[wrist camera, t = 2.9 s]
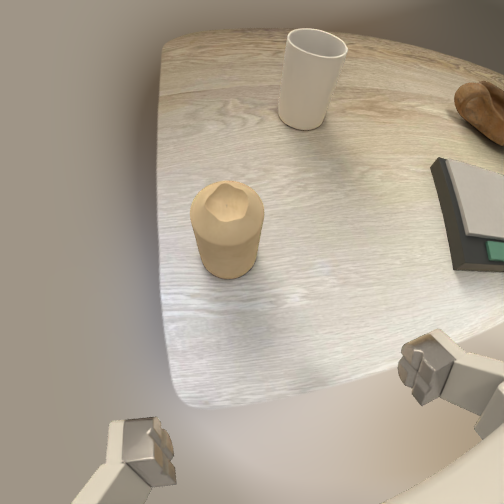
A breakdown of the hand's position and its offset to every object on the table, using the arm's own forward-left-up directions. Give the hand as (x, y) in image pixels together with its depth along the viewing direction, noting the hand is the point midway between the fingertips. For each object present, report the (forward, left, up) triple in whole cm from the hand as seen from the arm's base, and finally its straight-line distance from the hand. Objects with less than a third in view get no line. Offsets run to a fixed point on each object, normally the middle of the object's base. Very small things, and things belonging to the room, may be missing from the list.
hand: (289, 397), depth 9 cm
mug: (+34, -5, -19) cm, 40 cm away
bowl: (+40, -41, -19) cm, 61 cm away
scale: (+19, -31, -19) cm, 41 cm away
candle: (+12, +3, -19) cm, 23 cm away
